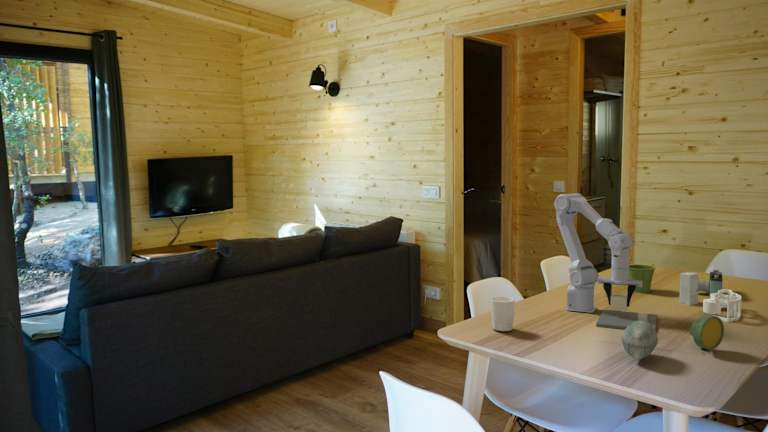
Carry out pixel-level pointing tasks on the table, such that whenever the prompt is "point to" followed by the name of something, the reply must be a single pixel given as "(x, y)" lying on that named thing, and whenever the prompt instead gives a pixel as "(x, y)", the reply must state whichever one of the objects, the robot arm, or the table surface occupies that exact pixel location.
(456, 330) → the table surface
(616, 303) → the white drawer cabinet
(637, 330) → the grey rounded piece
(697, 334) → the decorative artifact
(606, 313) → the plate
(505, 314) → the white cup
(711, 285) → the camera
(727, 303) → the skeletal toy car
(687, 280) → the skincare box
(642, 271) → the plant pot
